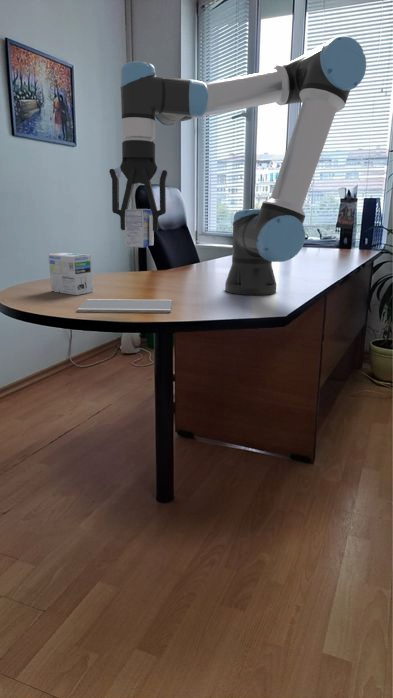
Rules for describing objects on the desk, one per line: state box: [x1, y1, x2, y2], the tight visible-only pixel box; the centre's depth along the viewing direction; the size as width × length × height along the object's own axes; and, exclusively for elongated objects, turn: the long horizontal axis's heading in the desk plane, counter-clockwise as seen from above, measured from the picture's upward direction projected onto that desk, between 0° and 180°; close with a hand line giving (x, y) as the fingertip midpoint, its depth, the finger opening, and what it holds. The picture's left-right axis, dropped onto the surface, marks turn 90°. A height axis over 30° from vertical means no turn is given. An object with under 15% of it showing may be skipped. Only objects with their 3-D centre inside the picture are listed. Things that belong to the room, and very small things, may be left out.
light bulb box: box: [48, 252, 94, 296], centre depth 135 cm, size 11×7×11 cm, turn 58°
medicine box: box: [125, 208, 153, 249], centre depth 114 cm, size 8×4×9 cm, turn 168°
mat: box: [76, 298, 173, 314], centre depth 118 cm, size 22×12×1 cm, turn 91°
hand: (139, 244), depth 116 cm, fingers closed on medicine box, 5 cm apart
